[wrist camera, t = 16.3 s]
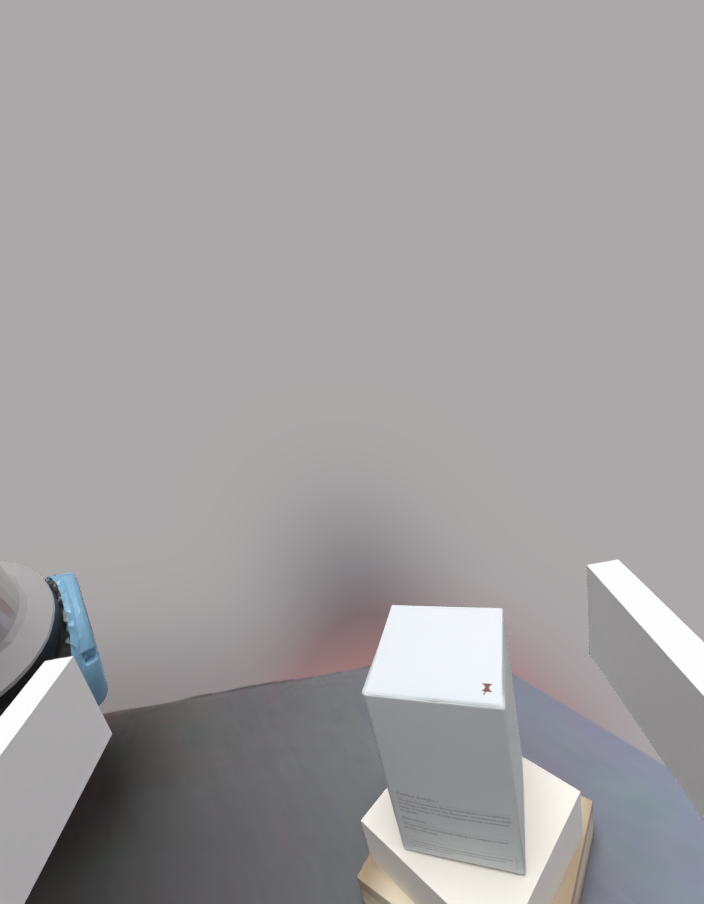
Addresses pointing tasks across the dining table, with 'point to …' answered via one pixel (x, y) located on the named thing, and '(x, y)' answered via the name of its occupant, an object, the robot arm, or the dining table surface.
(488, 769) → the supplement box
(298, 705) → the dining table surface
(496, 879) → the tower top block
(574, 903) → the tower base block
